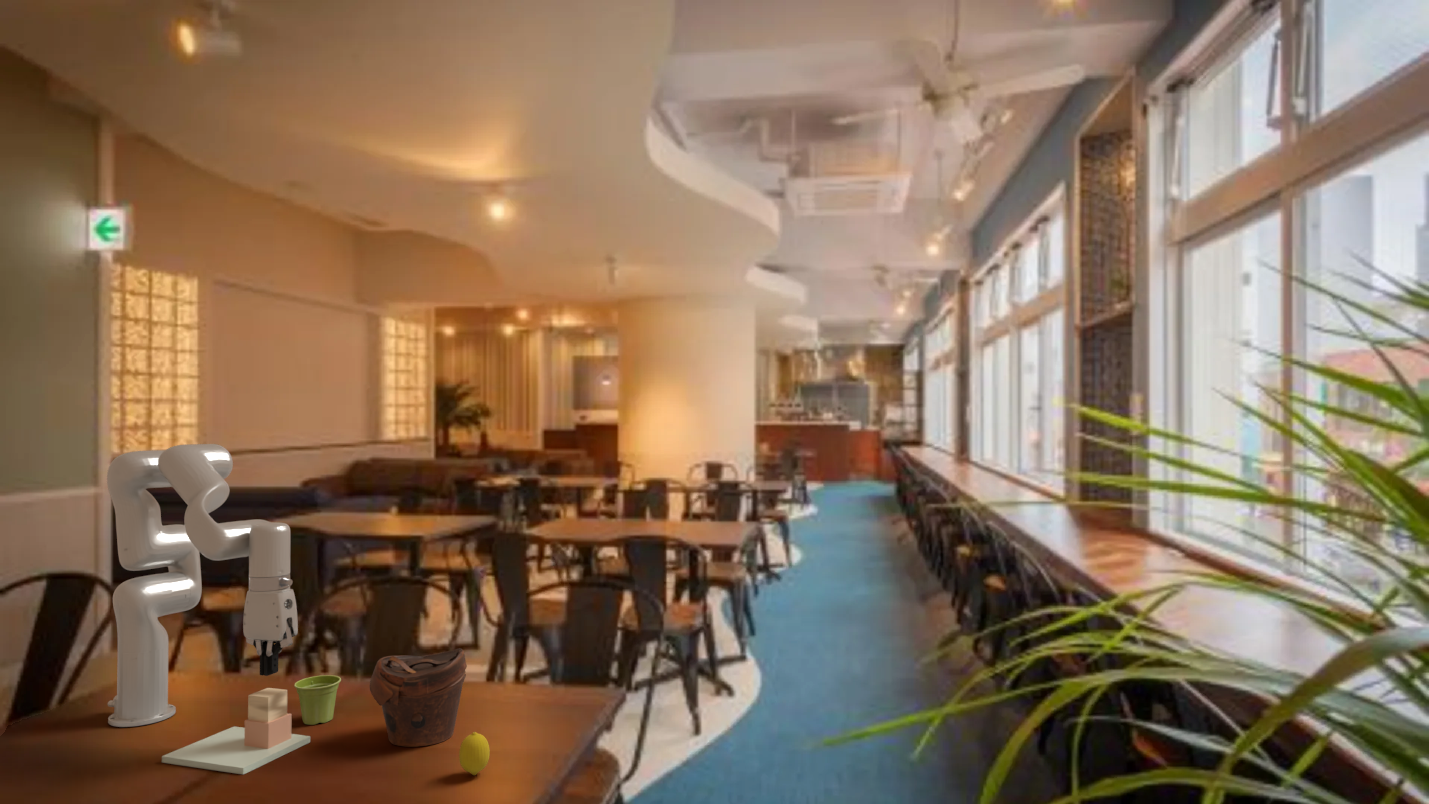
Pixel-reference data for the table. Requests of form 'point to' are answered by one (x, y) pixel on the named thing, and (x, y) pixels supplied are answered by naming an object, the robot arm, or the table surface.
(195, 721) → the table surface
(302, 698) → the plant pot
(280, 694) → the maple cube
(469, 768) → the lemon
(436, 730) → the case
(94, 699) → the table surface
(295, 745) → the building board
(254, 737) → the base block
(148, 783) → the table surface
